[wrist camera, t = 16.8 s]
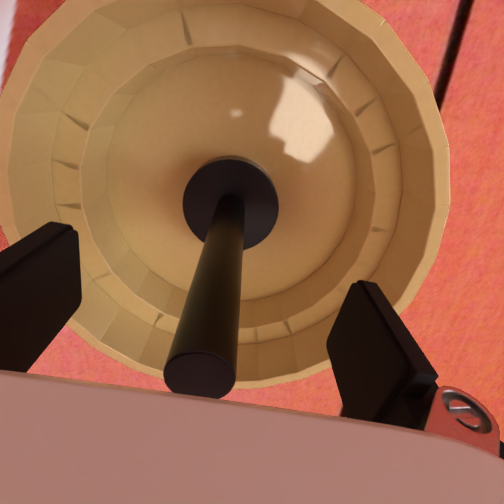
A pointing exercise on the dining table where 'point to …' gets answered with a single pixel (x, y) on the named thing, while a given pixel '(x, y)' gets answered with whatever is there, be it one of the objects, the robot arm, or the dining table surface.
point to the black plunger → (218, 271)
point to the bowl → (225, 144)
